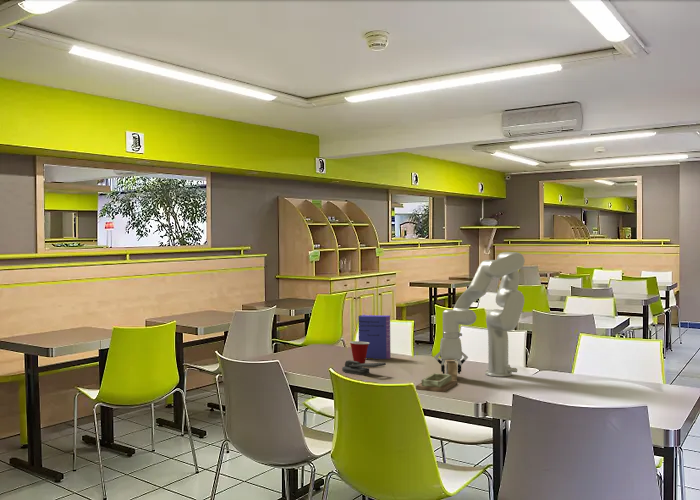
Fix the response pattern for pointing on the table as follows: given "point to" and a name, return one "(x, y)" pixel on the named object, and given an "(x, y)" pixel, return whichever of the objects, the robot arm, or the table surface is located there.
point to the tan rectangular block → (451, 369)
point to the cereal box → (375, 335)
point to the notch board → (437, 383)
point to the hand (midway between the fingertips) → (451, 373)
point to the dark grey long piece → (359, 367)
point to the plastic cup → (359, 350)
